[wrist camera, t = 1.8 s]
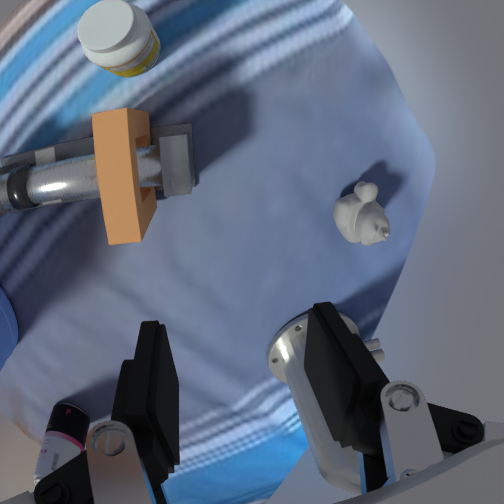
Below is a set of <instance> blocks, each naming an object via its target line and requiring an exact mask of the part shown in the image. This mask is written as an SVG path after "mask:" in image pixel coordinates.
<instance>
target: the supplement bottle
mask: <svg viewBox="0 0 504 504" xmlns="http://www.w3.org/2000/svg"><path fill="white" fill-rule="evenodd" d="M77 34H78V38H79V41H80V42H81V43H82V48H83V51H84V53H85V55H86V56H87V58H88V59H89V60H90V61H92V62H93V63H95V64H96V65H98V66H101V67H102V68H104V69H106V70H108V71H110V72H112V73H114V74H116V75H118V76H121V77H126V78H130V77H136V76H139V75H141V74H143V73H145V72H147V71H148V70H149V69H150V68H151V67H152V66H153V65H154V64H155V63H156V61H157V59H158V57H159V55H160V49H161V45H160V40H159V38H158V36H157V34H156V32H155V30H154V28H153V26H152V24H151V22H150V20H149V18H148V16H147V14H146V13H145V12H144V11H143V10H142V9H141V8H139V7H137V6H135V5H132V4H128V3H127V2H125V1H123V0H102V1H100V2H98V3H96V4H94V5H93V6H91V7H90V8H89V9H88V10H87V11H86V12H85V13H84V14H83V16H82V17H81V19H80V21H79V24H78V29H77Z"/></svg>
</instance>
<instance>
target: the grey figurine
mask: <svg viewBox="0 0 504 504" xmlns="http://www.w3.org/2000/svg"><path fill="white" fill-rule="evenodd" d="M377 194H378V187H377V186H376V185H375V184H374V183H371V182H369V183H366V182H364V181H360V182H358V183H357V184H356V186H355V188H354V193H352V194H348V195H346V196H345V197H342V198H339V199H337V200H336V202H335V207H334V211H333V217H334V221H335V223H336V225H337V227H338V229H339V231H340V232H341V234H342V235H343V237H345V238H346V239H347V240H348V241H349V242H352V243H359V242H362V244H364V245H372V244H374V243H375V242H380V241H382V240H385V241H386V237H387V236H388V235H389V234H390V229H389V221H388V218H387V217H386V216H385V215H384V209H383V208H382V207H381V206H380V205H379V204H378V203H377V202H376V201H375V200H376V197H377Z"/></svg>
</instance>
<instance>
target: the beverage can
mask: <svg viewBox="0 0 504 504" xmlns="http://www.w3.org/2000/svg"><path fill="white" fill-rule="evenodd" d="M89 424H90V420H89V418H88V416H87V415H86V413H85V412H84V411H83V410H81V409H80V408H78V407H76V406H74V405H72V404H68V403H59V404H56V405H55V406H54V407H53V410H52V413H51V416H50V419H49V422H48V426H47V429H46V432H45V436H44V439H43V442H42V446H41V449H40V453H39V457H38V461H37V465H36V469H35V473H34V483H35V484H36V485H37V483H38V482H39V481H40V480H41V479H42V478H44V477H45V476H47V475H48V474H50V473H52V472H53V471H55V470H56V469H58V468H59V467H61V466H62V465H64V464H65V463H67V462H68V461H70V460H71V459H73V458H74V457H76V456H77V455H79V454H80V453H82V452H83V451H84V448H85V443H86V437H87V433H88V429H89Z"/></svg>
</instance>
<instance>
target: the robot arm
mask: <svg viewBox="0 0 504 504" xmlns="http://www.w3.org/2000/svg"><path fill="white" fill-rule="evenodd" d="M379 347H380V341H379V339H378V338H377V339H372V340H368V341H365V342H363V341H362V340H361V338H360V335H359V330H358V328H357V326H356V324H355V323H354V322H353V320H352V319H351V318H350V317H348V316H347V315H345V314H343V313H341V312H338V311H337V310H336V309H335V307H334V306H333V304H332V303H331V302H322V303H316V304H314V306H313V308H310V309H309V312H308V314H304V315H302V316H300V317H298V318H296V319H294V320H293V321H291V322H290V323H288V324H287V325H286V326H284V327H283V328H282V329H281V330H280V331H279V332H278V333H277V335H276V336H275V337H274V339H273V340H272V342H271V344H270V347H269V350H268V357H267V359H268V364H269V367H270V370H271V372H272V374H273V375H274V376H275V377H276V378H277V379H278V380H279V381H281V382H283V383H285V384H288V386H289V389H290V392H291V395H292V397H293V400H294V403H295V406H296V409H297V412H298V415H299V418H300V421H301V423H302V426H303V429H304V432H305V435H306V438H307V441H308V443H309V446H310V449H311V452H312V455H313V458H314V460H315V463H316V465H317V468H318V471H319V473H320V474H321V476H322V477H323V478H324V479H325V480H326V481H327V482H328V483H330V484H331V485H333V486H335V487H337V488H339V489H342V490H344V491H347V492H350V493H353V494H356V495H358V496H357V497H354V498H350V499H347V500H344V501H341V502H337V503H334V504H504V423H499V422H489V421H485V422H484V424H482V423H481V422H480V420H479V419H478V418H476V417H475V416H473V415H470V414H467V413H463V412H459V411H456V410H452V409H448V408H445V407H441V406H437V405H434V404H431V403H427V402H426V399H425V396H424V394H423V392H422V391H421V390H420V389H419V387H418V386H416V385H415V384H413V383H411V382H407V381H394V382H391V383H390V381H389V380H388V378H387V377H386V375H385V374H384V373H383V371H382V369H381V368H380V366H379V365H378V363H379V362H383V361H384V358H385V357H384V356H385V355H384V352H383V350H382V349H377V348H379ZM372 349H377V350H373V351H369V350H372ZM179 464H180V454H179V382H178V377H177V373H176V369H175V365H174V361H173V357H172V353H171V349H170V345H169V341H168V336H167V332H166V328H165V325H164V324H159V322H158V320H157V321H143V322H142V323H141V327H140V331H139V336H138V341H137V346H136V351H135V356H134V359H132V360H124V361H123V363H122V366H121V371H120V375H119V380H118V385H117V390H116V395H115V400H114V405H113V410H112V416H111V421H104V422H101V423H98V424H97V425H95V426H94V427H93V428H92V429H91V430H90V431H89V432H88V435H87V437H86V450H85V451H83V452H82V453H80V454H79V455H77V456H76V457H74V458H73V459H71V460H70V461H68V462H67V463H65V464H64V465H62V466H61V467H59V468H58V469H56V470H55V471H53V472H52V473H50V474H48V475H47V476H45V477H44V478H42V479H41V480H40V481H39V482H38V483H37V485H36V487H35V490H34V492H32V493H30V492H29V491H26V492H24V493H21V494H19V495H17V496H14V497H12V498H10V499H8V500H5V501H3V502H0V504H170V503H169V500H168V498H167V495H166V492H165V489H164V486H163V484H162V483H163V482H164V481H165V480H167V479H168V473H174V465H179Z"/></svg>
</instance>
